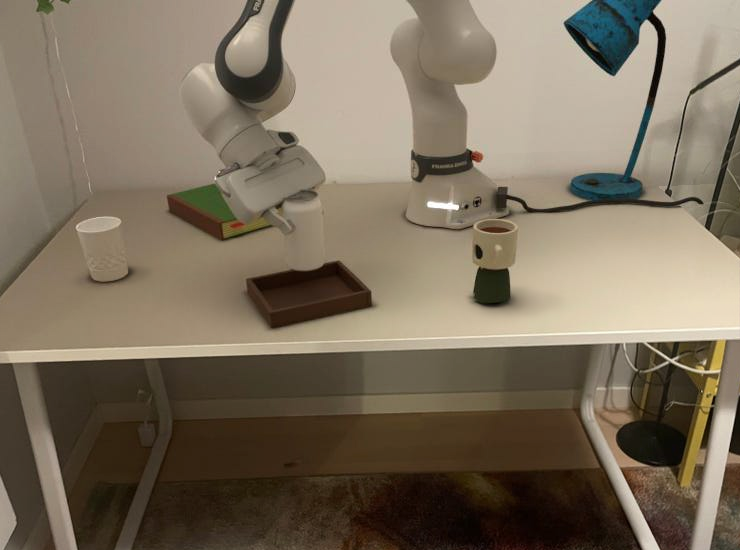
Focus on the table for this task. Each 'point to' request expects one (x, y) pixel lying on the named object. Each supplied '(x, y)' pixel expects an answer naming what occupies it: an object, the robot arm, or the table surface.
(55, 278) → the table surface
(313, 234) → the can
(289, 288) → the tray
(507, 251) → the character mug
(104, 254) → the white cup
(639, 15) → the desk lamp
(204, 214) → the hardcover book
